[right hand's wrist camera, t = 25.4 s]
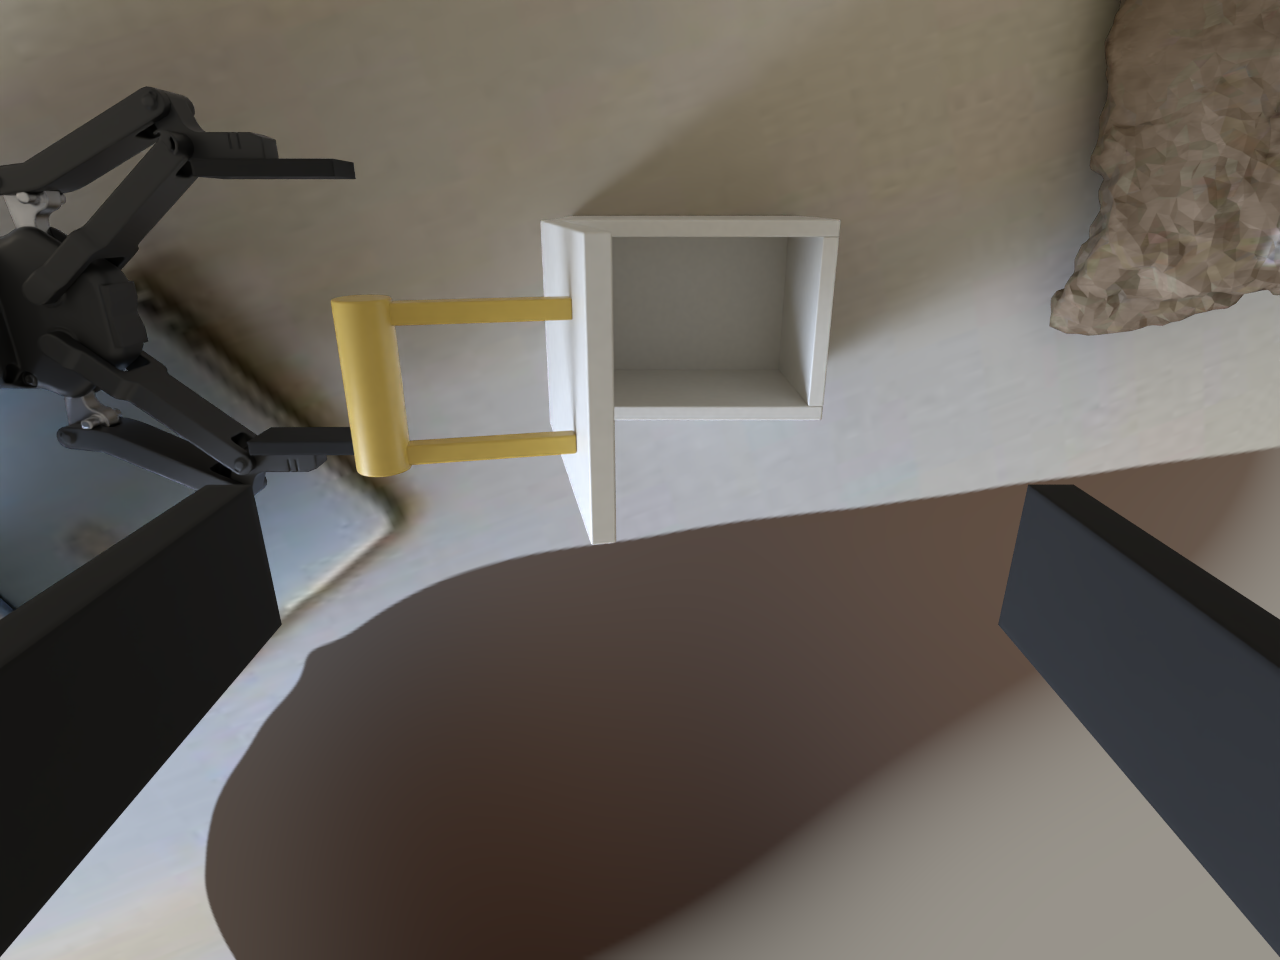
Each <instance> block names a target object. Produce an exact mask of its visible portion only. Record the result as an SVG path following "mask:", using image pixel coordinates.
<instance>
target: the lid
mask: <svg viewBox="0 0 1280 960" xmlns="http://www.w3.org/2000/svg"><path fill="white" fill-rule="evenodd" d="M541 243H542V264H543V285H544V297H515V298H477V299H439V300H401V301H392V299H391V297H389V296H385V295H351V296H342V297H337V298H334V299H332V300H331V306H332V313H333V319H334V326H335V332H336V339H337V345H338V352H339V358H340V365H341V371H342V378H343V384H344V390H345V397H346V403H347V410H348V416H349V423H350V429H351V436H352V442H353V449H354V455H355V461H356V468H357V471H358V473H359V474H361V475H364V476H369V477H385V476H392V475H396V474H400V473H403V472H405V471H407V470H409V469H410V468H411V466H412V465H418V464H432V463H447V462H461V461H475V460H490V459H504V458H518V457H532V456H547V455H561V456H562V459H563V462H564V465H565V468H566V471H567V474H568V477H569V480H570V483H571V486H572V489H573V492H574V495H575V498H576V501H577V503H578V506H579V509H580V512H581V515H582V518H583V521H584V524H585V527H586V530H587V533H588V536H589V539H590V542H591V544H593V545H595V544H606V543H615V542H616V490H615V418H614V345H613V272H612V233H611V232H609V231H605V230H600V229H596V228H591V227H587V226H582V225H578V224H574V223H569V222H565V221H560V220H541ZM523 321H545V326H546V347H547V368H548V389H549V410H550V424H551V427H552V430H553V432H539V433H524V434H508V435H492V436H476V437H461V438H445V439H429V440H413V441H409V433H408V425H407V417H406V409H405V401H404V393H403V385H402V377H401V369H400V361H399V353H398V345H397V337H396V329H395V326H402V325H432V324H463V323H493V322H523Z"/></svg>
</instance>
